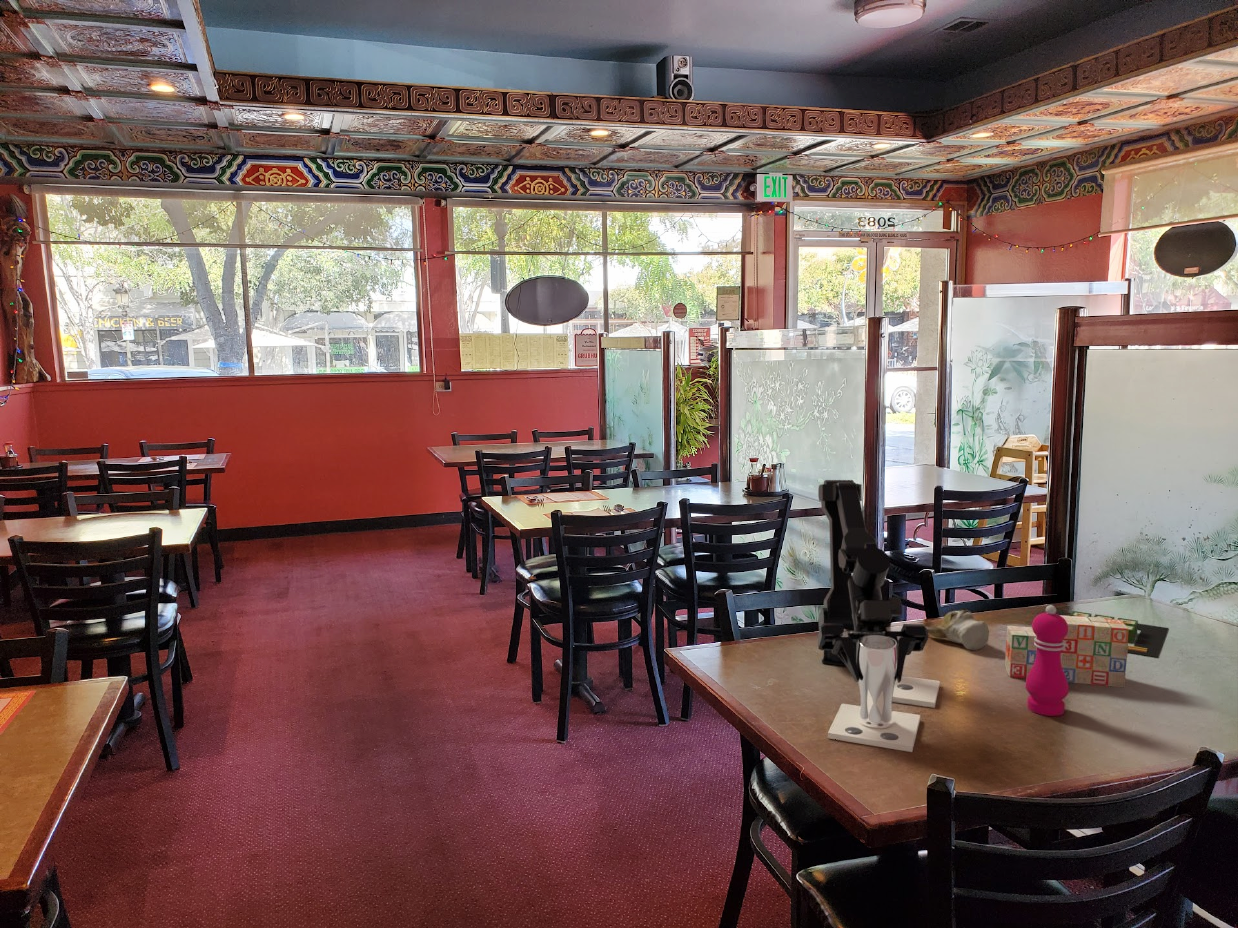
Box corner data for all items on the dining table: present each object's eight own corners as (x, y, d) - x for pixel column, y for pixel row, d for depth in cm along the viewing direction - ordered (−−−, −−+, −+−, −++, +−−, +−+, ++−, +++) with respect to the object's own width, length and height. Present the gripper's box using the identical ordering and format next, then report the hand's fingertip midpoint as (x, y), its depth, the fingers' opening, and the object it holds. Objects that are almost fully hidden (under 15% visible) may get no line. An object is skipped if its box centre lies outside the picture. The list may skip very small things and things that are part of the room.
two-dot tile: (827, 738, 154) (827, 732, 154) (841, 708, 167) (841, 703, 167) (912, 752, 149) (912, 746, 149) (920, 720, 161) (920, 714, 161)
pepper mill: (1016, 702, 169) (1021, 600, 166) (1053, 701, 170) (1058, 599, 167) (1037, 718, 162) (1043, 611, 159) (1075, 716, 162) (1081, 610, 160)
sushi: (1032, 639, 207) (1033, 624, 207) (1053, 614, 227) (1054, 599, 227) (1157, 661, 193) (1158, 644, 192) (1168, 631, 213) (1169, 616, 212)
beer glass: (886, 734, 154) (888, 653, 151) (849, 722, 158) (850, 643, 155) (902, 717, 159) (904, 639, 156) (865, 707, 163) (866, 630, 160)
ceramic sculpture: (965, 616, 194) (920, 602, 208) (964, 655, 195) (920, 639, 209) (1004, 612, 198) (957, 598, 212) (1003, 650, 198) (957, 634, 212)
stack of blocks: (1009, 678, 182) (1011, 619, 181) (1004, 667, 188) (1007, 611, 187) (1125, 687, 176) (1129, 627, 175) (1117, 676, 182) (1120, 618, 181)
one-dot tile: (869, 698, 172) (869, 693, 172) (877, 677, 183) (877, 672, 183) (934, 707, 167) (935, 702, 167) (939, 685, 178) (939, 680, 178)
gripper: (821, 579, 159) (830, 659, 149) (927, 580, 158) (944, 661, 148) (813, 610, 168) (822, 687, 158) (914, 611, 167) (929, 689, 157)
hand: (878, 681), depth 155 cm, fingers closed on beer glass, 7 cm apart
